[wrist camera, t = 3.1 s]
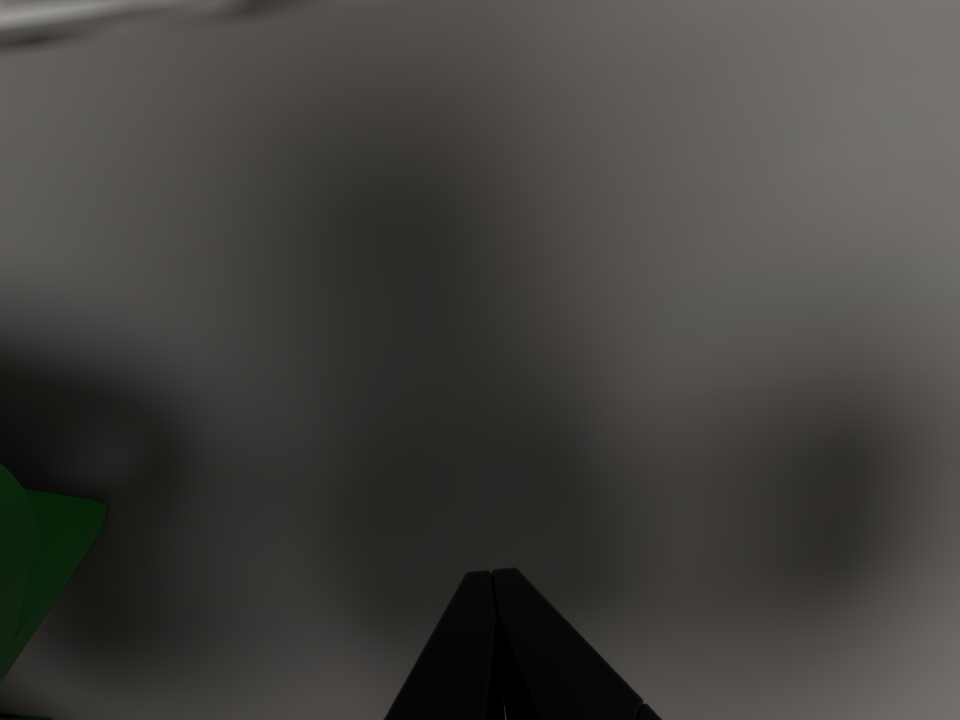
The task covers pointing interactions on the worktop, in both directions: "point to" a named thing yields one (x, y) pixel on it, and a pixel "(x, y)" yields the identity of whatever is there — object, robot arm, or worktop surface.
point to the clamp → (37, 557)
